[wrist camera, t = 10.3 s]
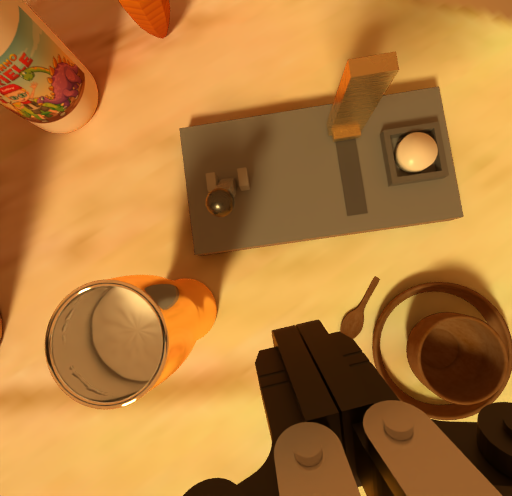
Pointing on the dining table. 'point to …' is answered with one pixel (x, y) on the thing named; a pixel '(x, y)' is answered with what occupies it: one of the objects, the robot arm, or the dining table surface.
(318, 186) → the switch panel
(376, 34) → the dining table surface
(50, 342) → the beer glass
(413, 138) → the push button
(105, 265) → the dining table surface
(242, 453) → the dining table surface
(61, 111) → the milk bottle
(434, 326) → the place setting
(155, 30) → the carrot
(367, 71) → the block
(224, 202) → the toggle lever
